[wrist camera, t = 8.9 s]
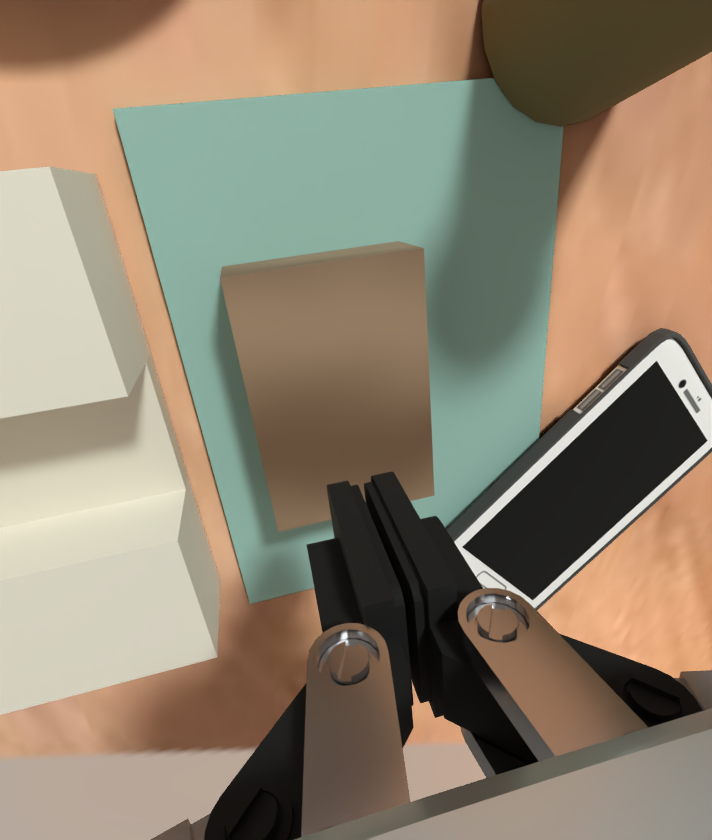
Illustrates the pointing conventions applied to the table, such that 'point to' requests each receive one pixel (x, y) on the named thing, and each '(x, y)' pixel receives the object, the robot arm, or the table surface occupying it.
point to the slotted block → (87, 463)
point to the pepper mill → (588, 51)
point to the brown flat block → (335, 371)
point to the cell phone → (591, 472)
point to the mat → (347, 228)
